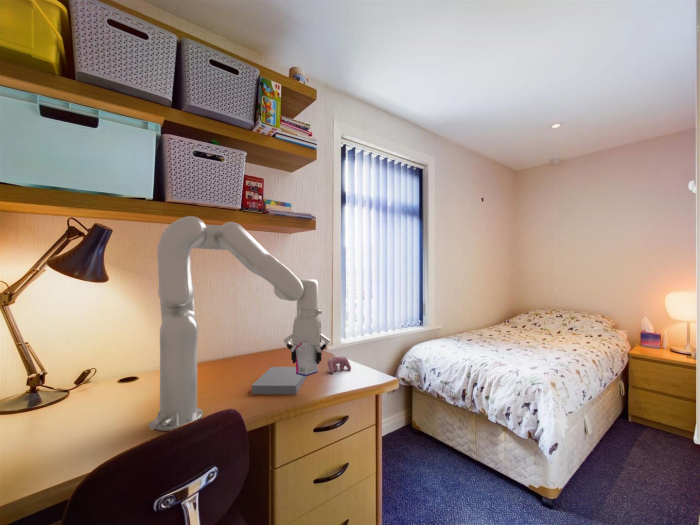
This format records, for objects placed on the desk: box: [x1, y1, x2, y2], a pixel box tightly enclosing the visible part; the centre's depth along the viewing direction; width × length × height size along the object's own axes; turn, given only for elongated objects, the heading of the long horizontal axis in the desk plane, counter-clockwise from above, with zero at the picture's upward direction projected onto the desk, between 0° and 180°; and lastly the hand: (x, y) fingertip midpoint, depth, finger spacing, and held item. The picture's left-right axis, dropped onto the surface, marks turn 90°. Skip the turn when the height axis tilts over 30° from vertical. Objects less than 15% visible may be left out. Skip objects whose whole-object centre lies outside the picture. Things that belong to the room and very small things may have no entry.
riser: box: [251, 366, 308, 395], centre depth 118 cm, size 22×16×3 cm
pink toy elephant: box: [327, 356, 352, 374], centre depth 133 cm, size 10×5×7 cm, turn 116°
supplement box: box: [295, 342, 319, 377], centre depth 109 cm, size 6×6×12 cm
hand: (306, 362), depth 109 cm, fingers closed on supplement box, 8 cm apart
